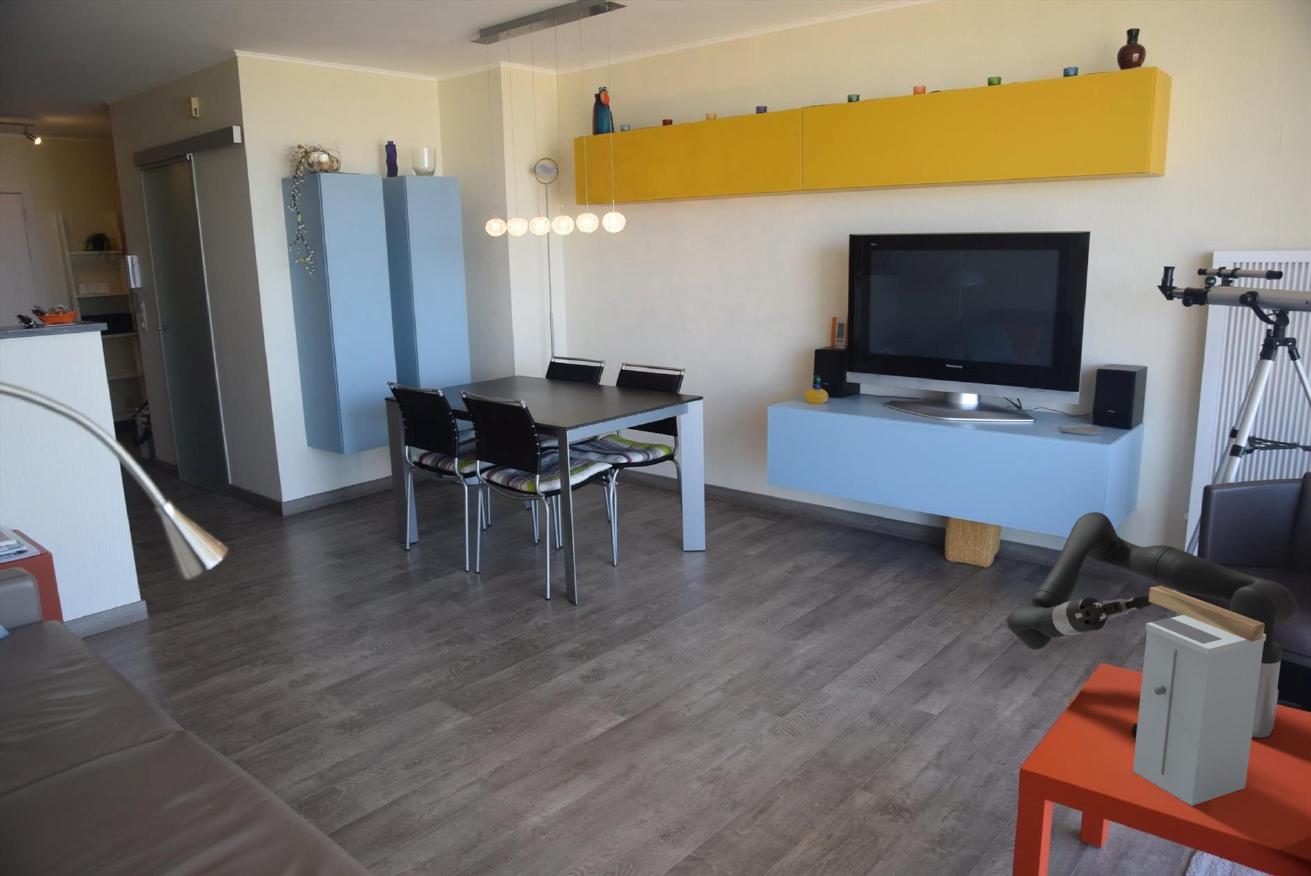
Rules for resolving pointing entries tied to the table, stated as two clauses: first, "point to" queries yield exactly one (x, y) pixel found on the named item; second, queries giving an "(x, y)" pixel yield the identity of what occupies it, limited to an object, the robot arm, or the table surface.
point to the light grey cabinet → (1196, 708)
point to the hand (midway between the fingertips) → (1134, 603)
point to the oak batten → (1207, 613)
